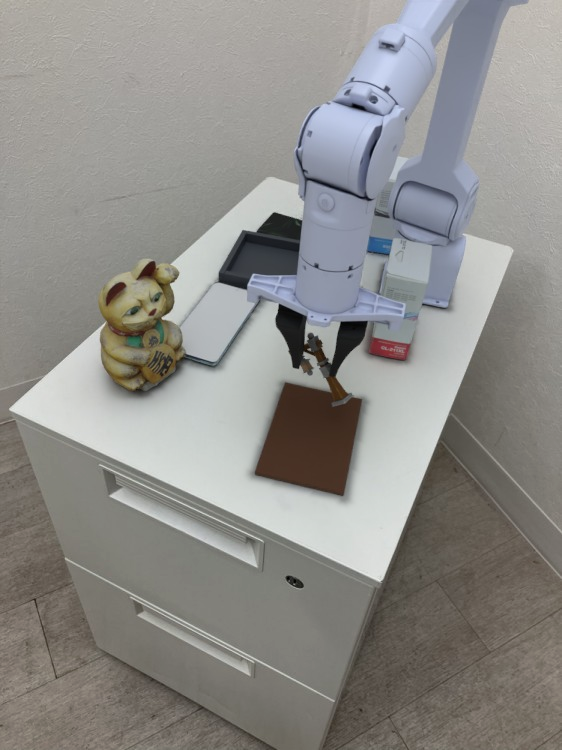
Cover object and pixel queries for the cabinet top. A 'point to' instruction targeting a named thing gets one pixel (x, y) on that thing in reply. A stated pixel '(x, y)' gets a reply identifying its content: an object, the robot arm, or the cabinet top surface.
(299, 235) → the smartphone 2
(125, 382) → the decorative figurine
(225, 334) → the smartphone
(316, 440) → the desk pad
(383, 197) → the ink box
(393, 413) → the cabinet top surface
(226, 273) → the tray
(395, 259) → the ink box
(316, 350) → the brown grey jointed column
